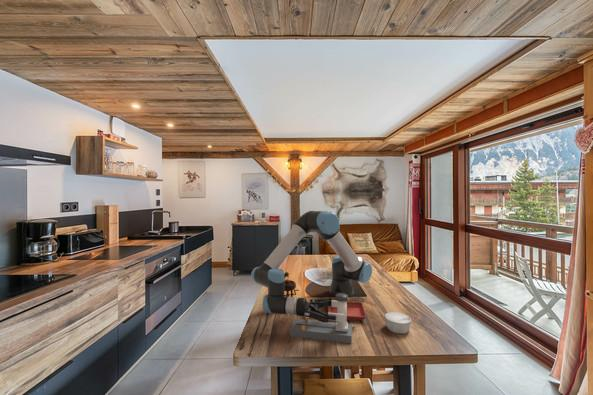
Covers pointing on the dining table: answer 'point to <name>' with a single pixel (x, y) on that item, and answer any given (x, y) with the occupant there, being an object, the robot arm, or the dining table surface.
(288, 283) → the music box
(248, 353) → the dining table surface
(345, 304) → the handle
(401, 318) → the ramekin
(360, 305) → the plant saucer
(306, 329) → the fader console
